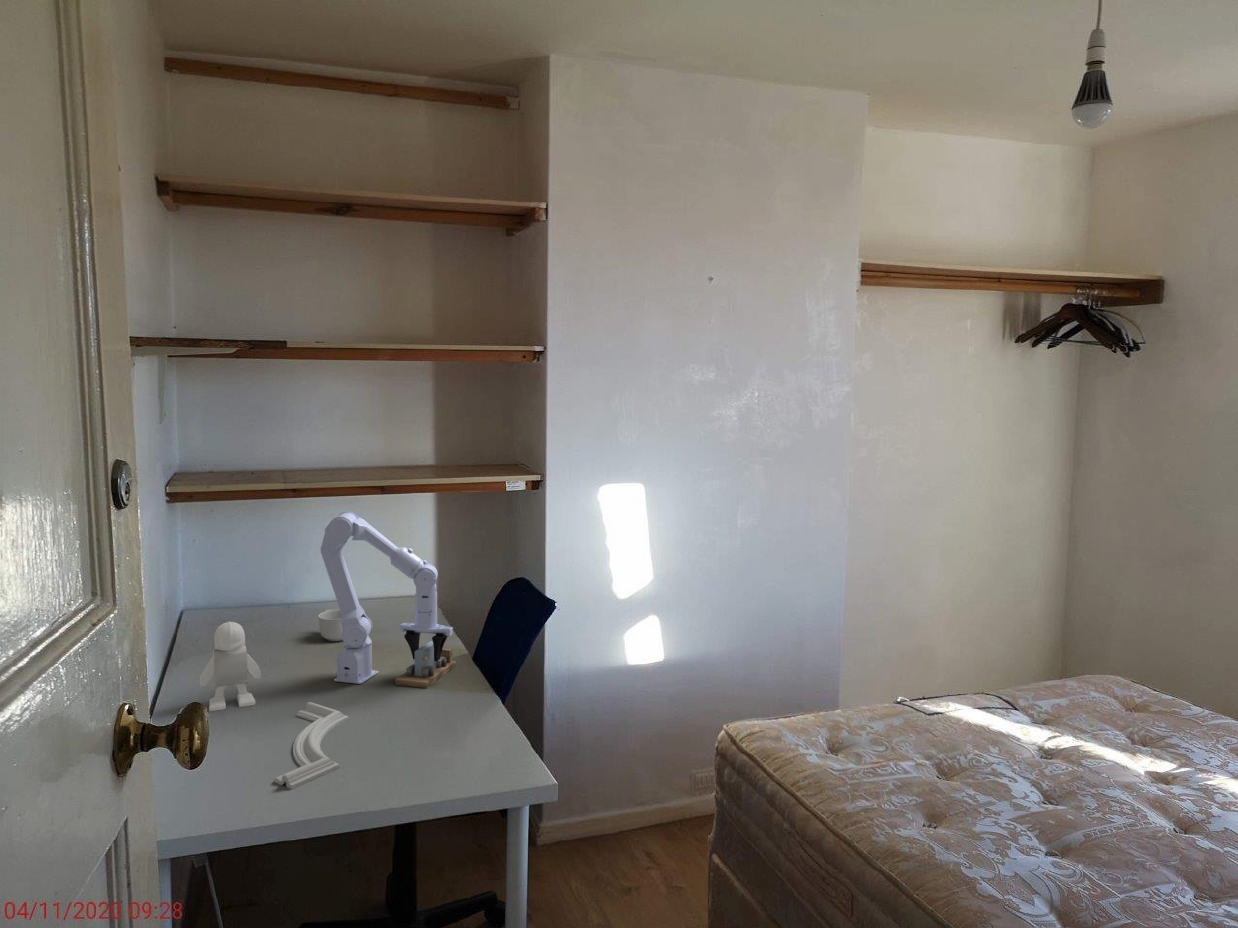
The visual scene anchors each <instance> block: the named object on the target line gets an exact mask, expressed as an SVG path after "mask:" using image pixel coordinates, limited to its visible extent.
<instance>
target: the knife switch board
mask: <svg viewBox="0 0 1238 928" xmlns="http://www.w3.org/2000/svg"><path fill="white" fill-rule="evenodd" d="M456 667H457V660H453V648H449V647H447V648H446V647H443V648H442V652H441V656H440V660H438V661H437V662H436V666H435V667H434V668H433V666H428V667H426V668H425V669H423V676H415V663H412V664H411V665H409V666H408V667H407V668H406V671H405V672H404V673H402V674H401V675H399V676H397V677H396V678H395V679H394V682H395V683H394V684H395V685H396V686H404V687H412V688H413V687H414V688H425V689H427V688H429V687H431V686H432V685H433V684H434V683H436V682H437V681H438V680H440V679H441V678H443V677H444V676H445V675H446V674H448V673H449V672H450V671H451V670H453V669H454V668H456Z"/></svg>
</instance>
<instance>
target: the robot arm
mask: <svg viewBox="0 0 1238 928" xmlns="http://www.w3.org/2000/svg"><path fill="white" fill-rule="evenodd" d="M351 537H352V539H351V541H365V542H367V543H368V544H370V545H371V546H372V547H374V549H375V548H376V549H377V550H378V551H380V552H381V553H383V554H384V555H386V556H387V557H389V559H390V560H389V561H390V565H391V566H392V567H394V568H395V569H397V570H398V571H399V572H401V573H402V574H403V575H404V576H406V577H408V579H412V580H413V583H414V584H413V585H415V594H414V595H415V596H414V597H415V598H414V599H415V601H414V602H415V609H414V611H415V612H414V613H415V616H414V618H415V620H414V621H415V622H403V623H401V624H400V625H399V632H400V633H402V632H403V633H404V632H405V634H404V636H403V637H404V639H405V641H406V642H407V644H408V645H407V646H409V649H410V652H411V656H412V660H415V651H416V650H418V649H419V648H420V636H421V634H431V635H434V636H432V637H431V641H433V646H434V661H436V662H437V661H438V660H440V656H441V652H442V648H444V645H445V643H446V641H447V639H448V637H451V636H452V635H453V634H454V627H452V626H448V625H447V626H446V625H442V624H439V623H438V592H437V589H438V588H437V579H438V576H439V574H438V573H439V572H438V570H437V568H436V566H434V564H433V563H430V562H428V561H427V560H426V559H424V560H422V559H421V558H420V557H419V556H418V555H416V553H413V552H414V549H412V548H410V547H409V548H407V547H405V546H401V547H400V546H399V547H398V546H397V545H395V544H394V543H393V542H392V541H390V540H389V539H388V538H387V537H386V536H385V535H383V534H382V533H380V531H378V530H377V529H376V528H375V527H374V526H372V525H371V524H370V523H369V522H367V521H366V519H363V518H362V517H359V516H358V515H357V514H355V513H354V512H352V511H343V512H341V513H339V515H337V516H336V517H334V518H332V519H331V521H330V522H329V523H328V524H327V526H326V527H325V529H324V535H323V537H322V538H323V540H322V543H321V546H320V553H321V557H322V560H323V563H324V566H325V568H326V571H327V574H328V578H329V580H330V584H331V586H332V589H333V592H334V596H335V599H336V602H337V604H338V609H340V611H341V624H342V627H343V633H342V638H343V640H342V642H343V646H342V647H343V648H342V650H341V651H340V652H339V653H338V654H337V657H336V677H335V678H334V682H338V683H351V684H358V685H360V684H361V685H362V684H364V683H365V682H367V680H370V679H371V678H373V677H374V676H375V675H377V674H379V670H373V646H372V645H373V644H372V643H373V642H372V639H371V638H370V636H369V635H370V634H371V632H372V631H373V621H372V620H371V619H370V618H369V617H368V616H367V614H366V612H365V609H364V608H363V607H362V605H360V602H359V601H360V600H359V598H358V595H357V592H356V590H355V587H354V584H353V581H352V578H351V575H350V572H349V569H348V565H347V563H346V560H345V557H344V553H343V549H344V547H345V545H346V543H347V542H348V541H349V538H351Z"/></svg>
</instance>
